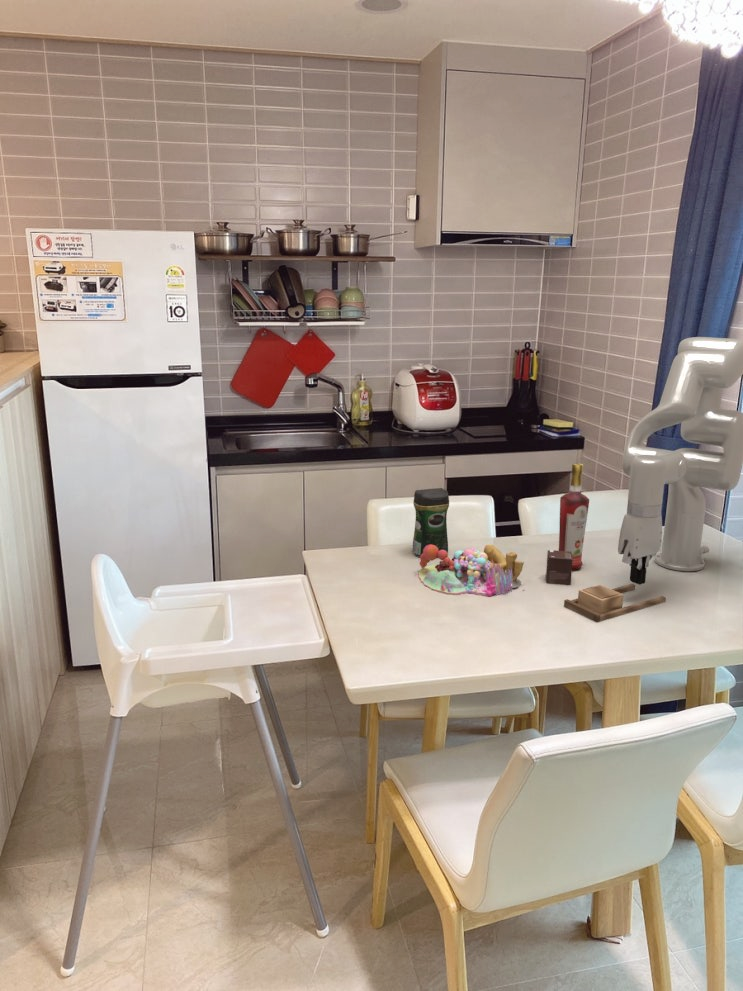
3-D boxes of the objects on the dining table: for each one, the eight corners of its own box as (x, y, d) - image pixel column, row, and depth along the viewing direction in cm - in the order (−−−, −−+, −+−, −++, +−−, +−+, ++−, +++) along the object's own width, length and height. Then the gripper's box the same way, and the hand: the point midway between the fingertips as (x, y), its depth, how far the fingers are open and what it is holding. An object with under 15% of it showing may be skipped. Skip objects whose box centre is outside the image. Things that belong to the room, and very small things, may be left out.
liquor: (573, 561, 208) (582, 460, 201) (588, 570, 202) (598, 466, 194) (549, 563, 206) (557, 462, 199) (564, 573, 199) (573, 468, 192)
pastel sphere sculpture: (483, 559, 210) (485, 527, 207) (538, 589, 190) (541, 553, 187) (404, 573, 199) (404, 539, 196) (453, 606, 179) (455, 569, 176)
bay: (631, 589, 189) (632, 581, 189) (665, 603, 181) (666, 595, 180) (563, 608, 178) (564, 600, 177) (596, 623, 169) (597, 615, 169)
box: (570, 587, 190) (573, 559, 188) (545, 585, 192) (548, 557, 190) (569, 578, 196) (571, 551, 194) (545, 576, 197) (547, 549, 195)
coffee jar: (439, 547, 218) (442, 484, 213) (451, 556, 211) (454, 491, 206) (408, 551, 215) (409, 486, 210) (419, 560, 208) (421, 494, 203)
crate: (598, 600, 181) (600, 583, 180) (621, 610, 175) (623, 593, 174) (577, 606, 178) (578, 589, 177) (600, 617, 172) (602, 599, 171)
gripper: (652, 499, 184) (645, 570, 189) (608, 510, 176) (602, 583, 182) (679, 507, 178) (671, 580, 183) (635, 518, 170) (628, 594, 175)
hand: (637, 582), depth 182 cm, fingers closed
